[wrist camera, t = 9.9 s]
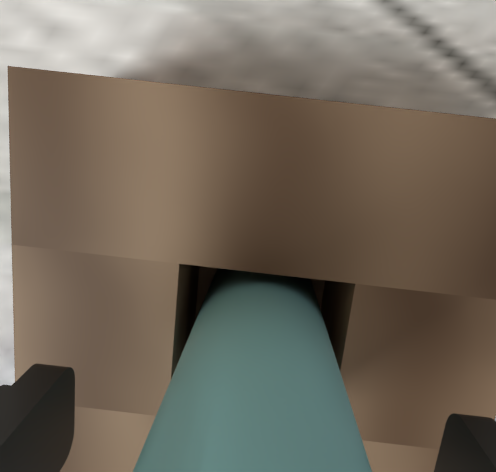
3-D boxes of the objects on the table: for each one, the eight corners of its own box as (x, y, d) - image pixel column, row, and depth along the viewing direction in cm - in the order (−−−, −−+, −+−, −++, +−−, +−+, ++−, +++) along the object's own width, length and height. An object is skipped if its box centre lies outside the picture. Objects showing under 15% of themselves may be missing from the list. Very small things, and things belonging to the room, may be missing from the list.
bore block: (464, 129, 16) (574, 127, 10) (395, 445, 20) (450, 576, 14) (98, 89, 16) (7, 65, 11) (91, 408, 20) (18, 523, 14)
